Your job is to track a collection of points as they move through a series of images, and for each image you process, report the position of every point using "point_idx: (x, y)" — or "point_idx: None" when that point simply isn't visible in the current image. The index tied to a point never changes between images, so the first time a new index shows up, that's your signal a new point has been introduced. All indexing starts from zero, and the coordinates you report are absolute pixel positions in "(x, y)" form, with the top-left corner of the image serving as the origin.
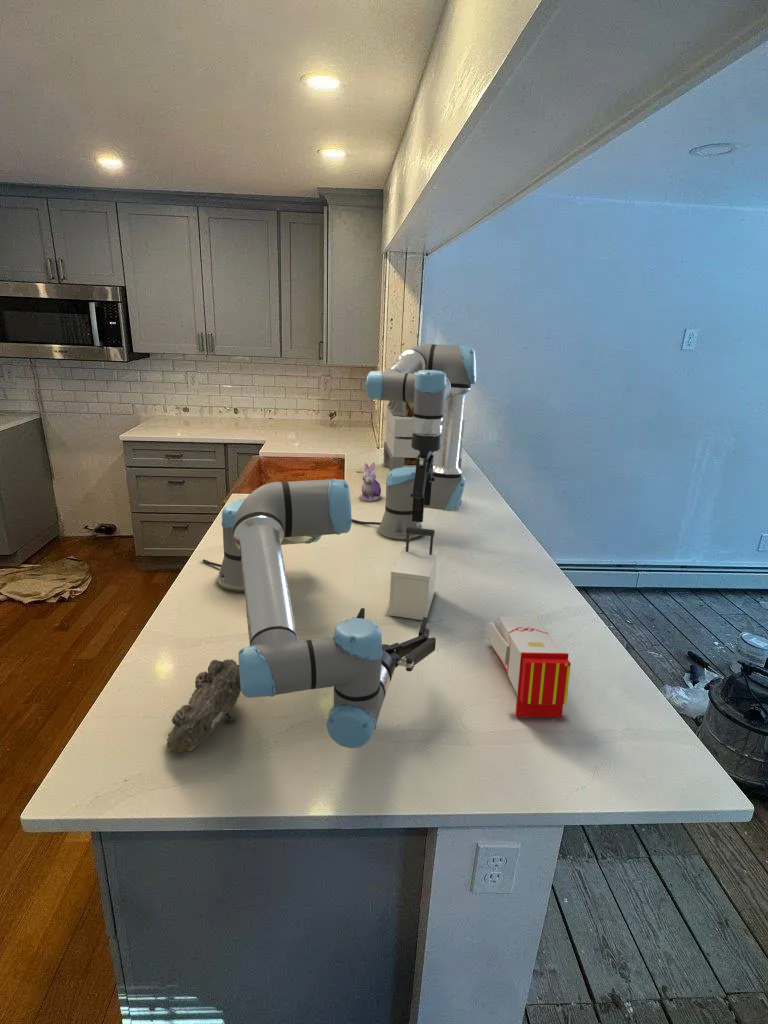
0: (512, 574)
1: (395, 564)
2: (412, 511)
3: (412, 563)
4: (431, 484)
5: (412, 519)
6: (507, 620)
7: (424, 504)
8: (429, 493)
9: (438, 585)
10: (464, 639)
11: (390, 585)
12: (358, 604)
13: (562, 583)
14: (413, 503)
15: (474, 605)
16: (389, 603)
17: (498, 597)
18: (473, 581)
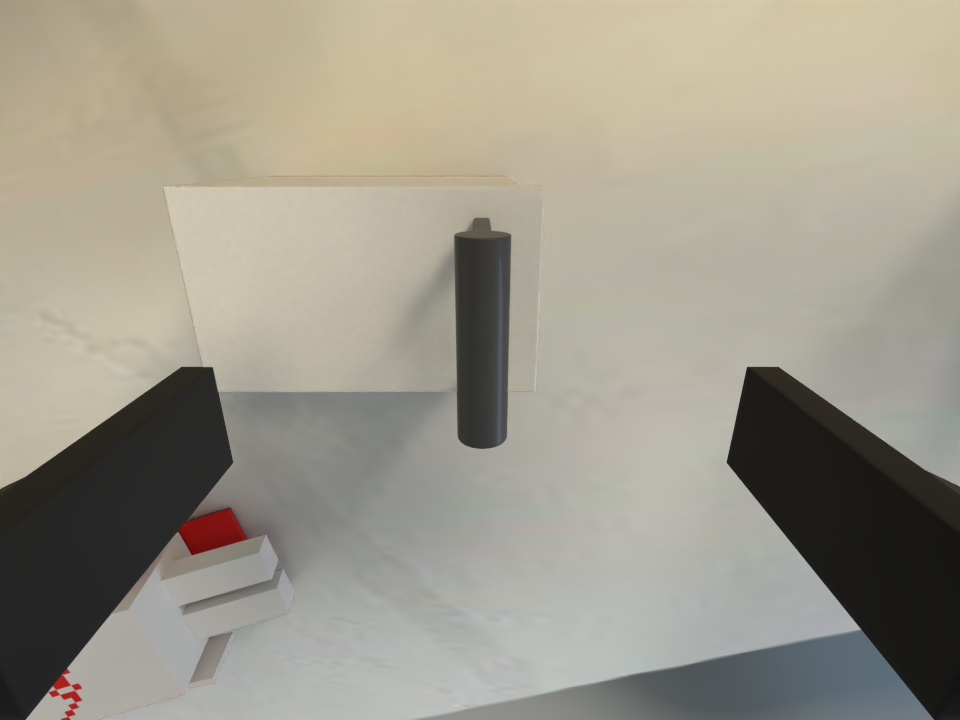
0: (717, 550)
1: (266, 192)
2: (107, 419)
3: (322, 287)
4: (926, 684)
5: (171, 379)
6: (107, 633)
7: (741, 414)
8: (809, 548)
9: (576, 326)
10: (237, 440)
11: (208, 182)
12: (306, 15)
13: (674, 666)
14: (17, 492)
15: (457, 453)
16: (250, 178)
17: (535, 515)
18: (637, 440)
